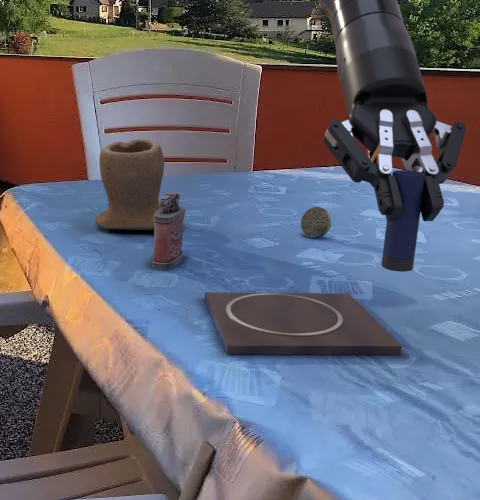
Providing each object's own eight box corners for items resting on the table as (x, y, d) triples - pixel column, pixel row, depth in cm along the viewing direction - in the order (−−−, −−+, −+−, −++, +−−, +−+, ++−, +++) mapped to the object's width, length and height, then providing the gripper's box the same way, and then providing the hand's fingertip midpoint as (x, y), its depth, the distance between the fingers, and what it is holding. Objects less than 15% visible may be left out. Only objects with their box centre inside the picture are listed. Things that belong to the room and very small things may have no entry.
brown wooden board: (348, 300, 88) (349, 292, 88) (400, 355, 73) (402, 344, 72) (204, 299, 87) (204, 291, 87) (226, 354, 72) (227, 344, 71)
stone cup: (91, 237, 114) (91, 143, 110) (99, 219, 125) (99, 134, 121) (185, 240, 113) (189, 147, 109) (184, 223, 125) (188, 137, 120)
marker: (405, 263, 68) (417, 170, 66) (417, 271, 65) (431, 175, 63) (376, 262, 68) (387, 169, 66) (388, 271, 65) (400, 175, 63)
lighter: (165, 252, 106) (168, 187, 104) (187, 255, 105) (190, 189, 102) (147, 267, 99) (149, 197, 96) (169, 270, 98) (172, 199, 95)
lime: (330, 240, 115) (333, 211, 114) (300, 238, 116) (302, 208, 115) (328, 234, 120) (331, 205, 118) (299, 232, 120) (302, 203, 119)
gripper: (320, 42, 68) (350, 192, 60) (462, 45, 69) (511, 194, 60) (300, 95, 74) (325, 237, 66) (430, 97, 75) (471, 238, 67)
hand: (413, 215), depth 63 cm, fingers closed on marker, 2 cm apart
